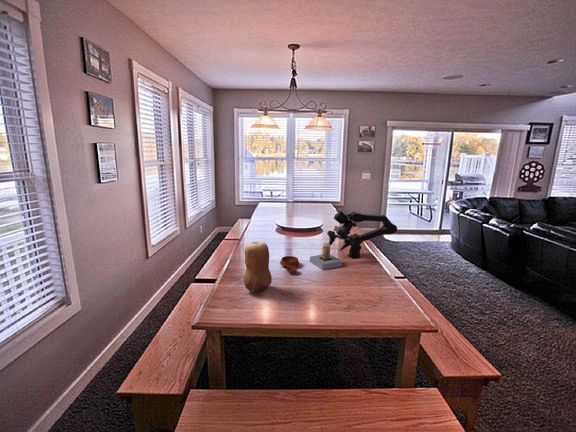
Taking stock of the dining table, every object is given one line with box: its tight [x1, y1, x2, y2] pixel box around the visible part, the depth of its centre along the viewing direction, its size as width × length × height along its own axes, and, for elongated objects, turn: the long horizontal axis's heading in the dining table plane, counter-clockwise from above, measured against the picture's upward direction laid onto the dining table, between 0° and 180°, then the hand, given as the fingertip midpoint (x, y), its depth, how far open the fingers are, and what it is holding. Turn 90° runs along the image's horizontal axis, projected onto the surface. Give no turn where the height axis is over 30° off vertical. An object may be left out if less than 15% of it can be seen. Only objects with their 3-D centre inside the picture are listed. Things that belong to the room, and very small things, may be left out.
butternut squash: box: [243, 241, 273, 293], centre depth 142 cm, size 14×13×25 cm
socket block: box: [309, 253, 343, 271], centre depth 180 cm, size 14×14×4 cm
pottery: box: [279, 255, 300, 275], centre depth 173 cm, size 12×20×4 cm, turn 6°
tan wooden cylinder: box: [321, 243, 332, 261], centre depth 179 cm, size 5×5×12 cm
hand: (334, 248), depth 184 cm, fingers open, 9 cm apart
